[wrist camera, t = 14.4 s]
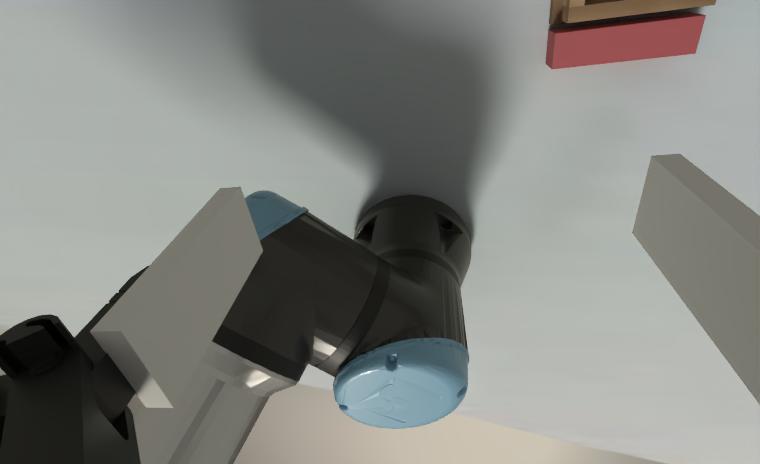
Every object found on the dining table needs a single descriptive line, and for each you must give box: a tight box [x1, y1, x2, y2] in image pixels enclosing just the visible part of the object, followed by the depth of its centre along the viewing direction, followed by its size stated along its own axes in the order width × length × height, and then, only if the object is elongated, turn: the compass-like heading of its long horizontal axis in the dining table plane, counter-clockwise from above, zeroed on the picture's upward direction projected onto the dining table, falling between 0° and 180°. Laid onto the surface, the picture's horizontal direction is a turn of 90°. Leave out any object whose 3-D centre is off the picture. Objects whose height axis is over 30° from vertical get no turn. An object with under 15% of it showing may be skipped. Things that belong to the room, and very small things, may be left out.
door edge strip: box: [546, 12, 706, 69], centre depth 37 cm, size 3×12×2 cm, turn 98°
